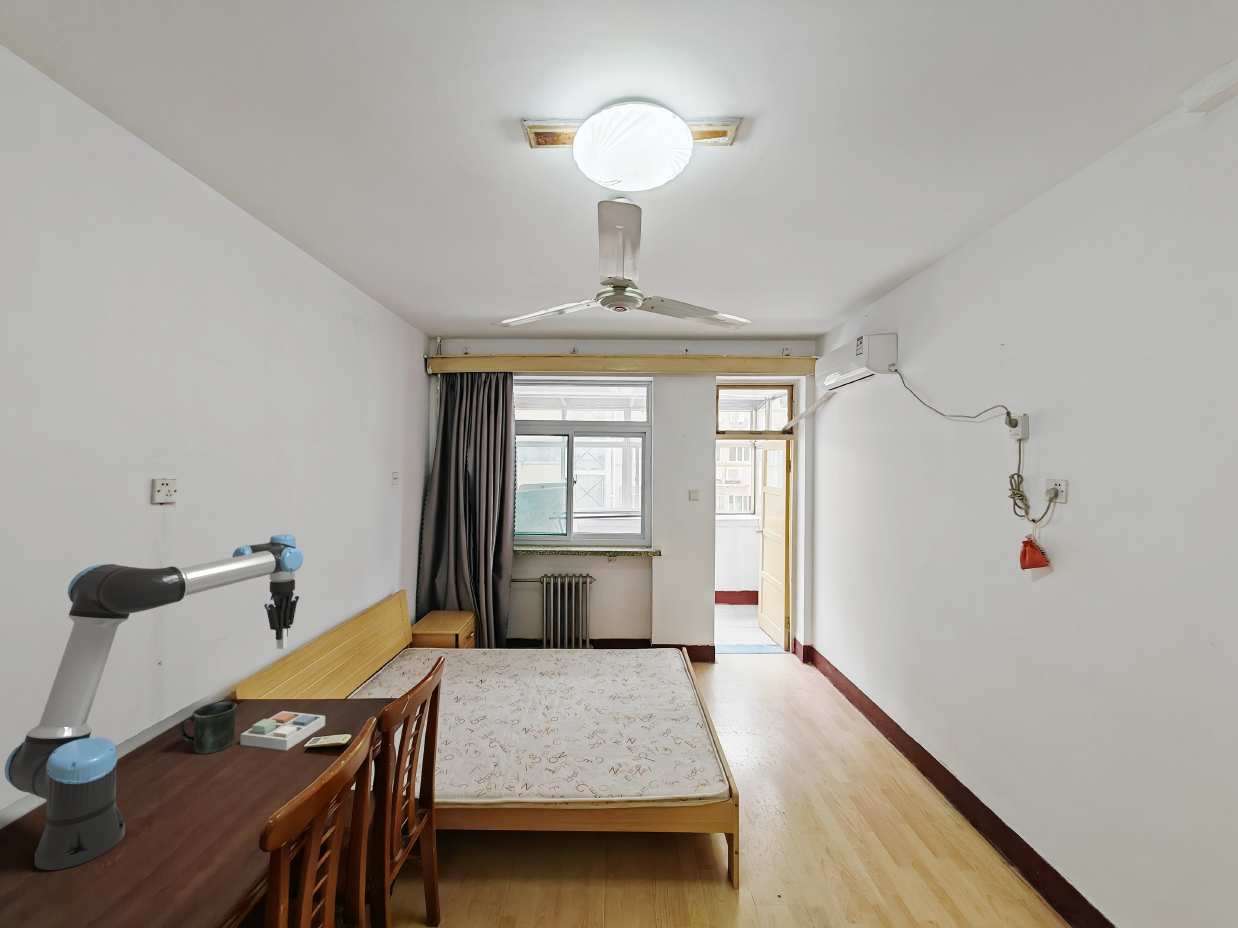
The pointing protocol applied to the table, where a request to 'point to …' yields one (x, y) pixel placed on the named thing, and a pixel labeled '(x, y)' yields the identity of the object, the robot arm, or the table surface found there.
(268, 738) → the frame
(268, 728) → the key sage
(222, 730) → the mug
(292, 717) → the key terracotta
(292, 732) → the key ivory
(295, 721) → the key slate
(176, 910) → the table surface
